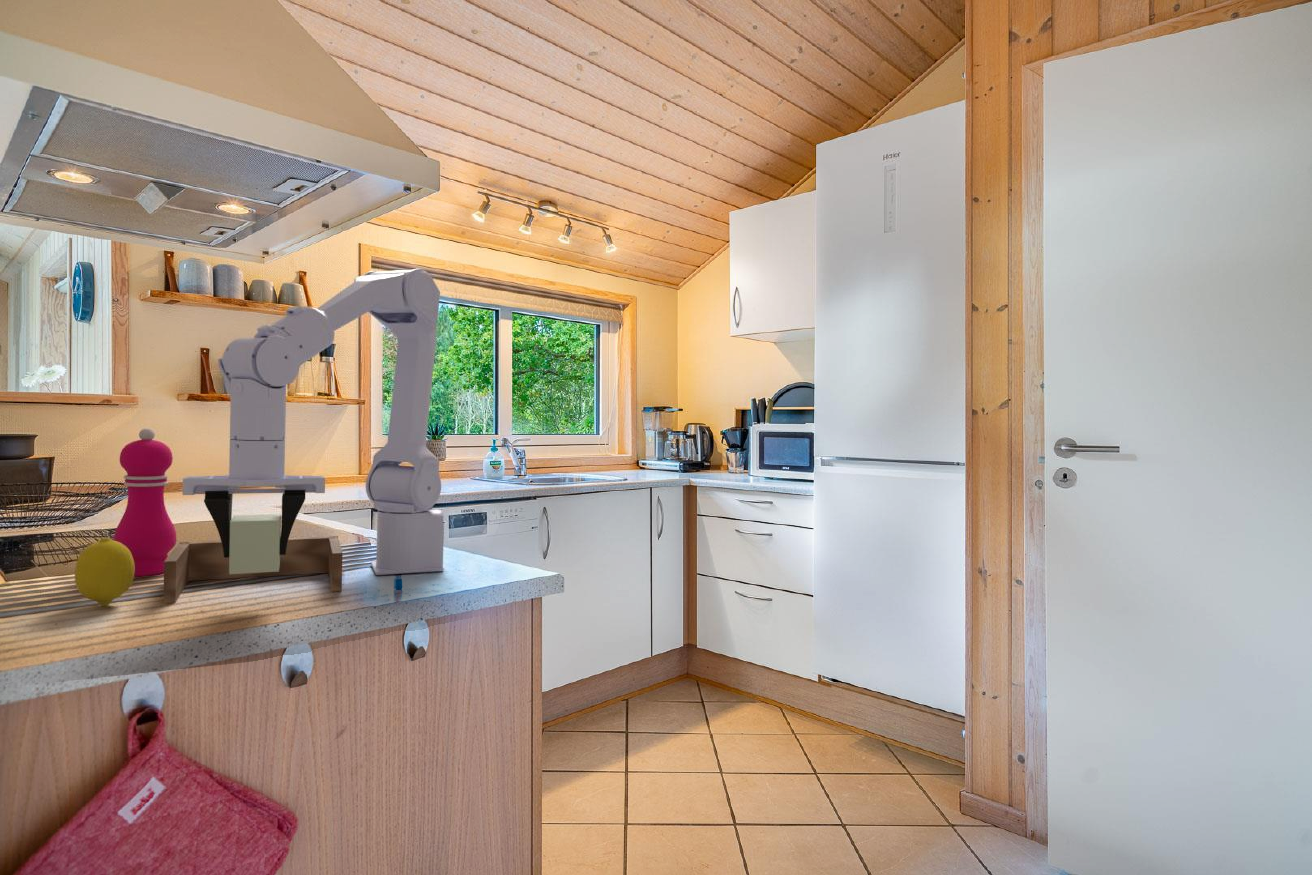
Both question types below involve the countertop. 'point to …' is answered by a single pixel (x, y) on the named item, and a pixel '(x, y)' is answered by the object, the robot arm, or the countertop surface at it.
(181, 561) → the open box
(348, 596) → the countertop surface
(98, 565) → the lemon
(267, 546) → the block
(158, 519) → the pepper mill
